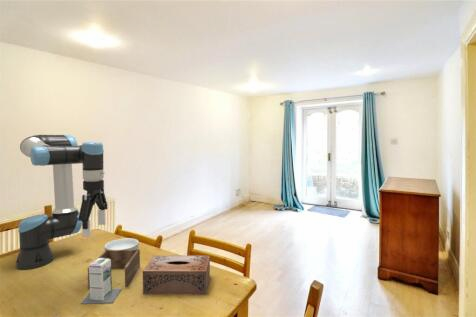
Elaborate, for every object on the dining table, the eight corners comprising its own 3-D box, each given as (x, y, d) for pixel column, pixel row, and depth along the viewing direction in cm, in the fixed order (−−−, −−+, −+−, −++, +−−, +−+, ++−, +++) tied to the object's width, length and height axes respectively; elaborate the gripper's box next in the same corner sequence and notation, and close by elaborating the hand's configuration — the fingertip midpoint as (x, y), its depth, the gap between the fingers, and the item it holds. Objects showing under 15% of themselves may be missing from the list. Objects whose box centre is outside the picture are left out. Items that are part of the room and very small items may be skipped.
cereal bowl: (145, 254, 144) (145, 241, 144) (117, 266, 130) (117, 252, 130) (126, 247, 153) (126, 235, 153) (98, 258, 139) (97, 245, 139)
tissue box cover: (209, 276, 122) (209, 255, 121) (206, 295, 108) (206, 271, 107) (154, 276, 122) (153, 255, 121) (143, 294, 108) (142, 271, 107)
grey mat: (80, 304, 100) (80, 303, 100) (91, 290, 109) (91, 289, 109) (112, 303, 101) (112, 302, 101) (121, 289, 110) (121, 288, 110)
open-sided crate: (88, 288, 111) (87, 268, 110) (106, 267, 129) (105, 250, 128) (127, 287, 112) (127, 267, 111) (139, 267, 130) (139, 249, 129)
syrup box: (103, 301, 102) (102, 264, 101) (89, 299, 103) (88, 263, 102) (112, 292, 108) (111, 258, 106) (99, 291, 108) (98, 257, 107)
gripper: (87, 185, 96) (89, 242, 98) (114, 175, 121) (115, 220, 123) (66, 185, 95) (68, 242, 97) (97, 174, 120) (98, 220, 122)
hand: (94, 230), depth 110 cm, fingers open, 13 cm apart
